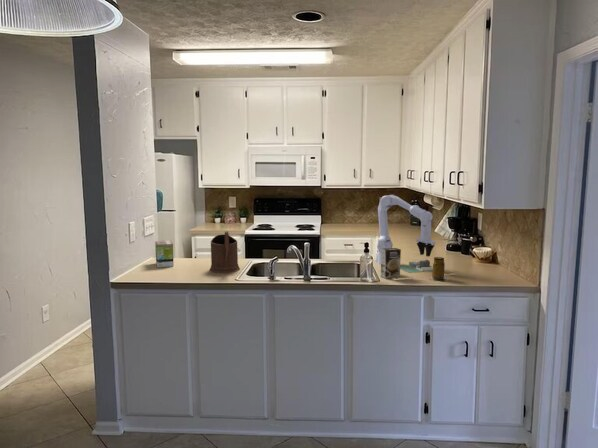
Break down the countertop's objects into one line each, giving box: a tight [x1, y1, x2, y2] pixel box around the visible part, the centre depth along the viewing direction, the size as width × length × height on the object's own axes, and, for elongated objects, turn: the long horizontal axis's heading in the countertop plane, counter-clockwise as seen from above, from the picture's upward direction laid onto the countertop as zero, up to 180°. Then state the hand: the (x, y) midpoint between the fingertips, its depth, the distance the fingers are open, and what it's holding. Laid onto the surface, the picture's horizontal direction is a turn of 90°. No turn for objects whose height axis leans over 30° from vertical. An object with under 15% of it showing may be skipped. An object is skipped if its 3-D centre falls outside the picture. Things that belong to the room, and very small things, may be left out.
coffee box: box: [380, 247, 402, 280], centre depth 243 cm, size 9×6×16 cm
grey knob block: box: [408, 260, 421, 268], centre depth 267 cm, size 7×7×2 cm
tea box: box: [154, 240, 175, 268], centre depth 277 cm, size 15×10×15 cm, turn 22°
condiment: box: [430, 256, 450, 282], centre depth 238 cm, size 7×8×12 cm
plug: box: [419, 259, 431, 269], centre depth 257 cm, size 3×5×6 cm
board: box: [400, 264, 433, 274], centre depth 260 cm, size 17×18×3 cm
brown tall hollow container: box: [209, 230, 241, 274], centre depth 260 cm, size 18×24×25 cm
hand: (425, 255), depth 256 cm, fingers open, 5 cm apart
